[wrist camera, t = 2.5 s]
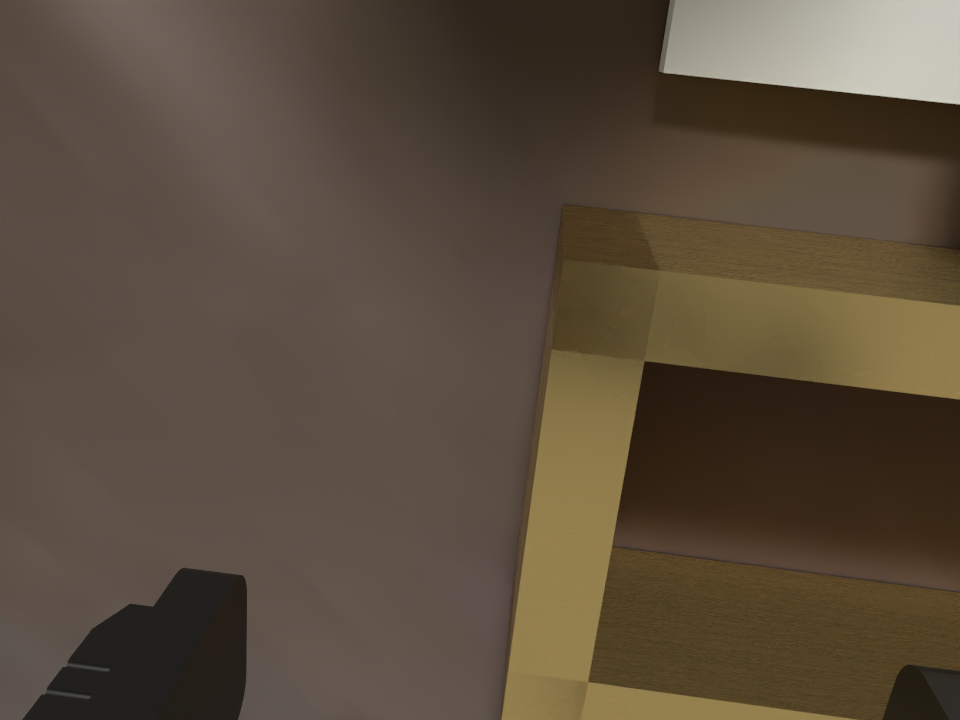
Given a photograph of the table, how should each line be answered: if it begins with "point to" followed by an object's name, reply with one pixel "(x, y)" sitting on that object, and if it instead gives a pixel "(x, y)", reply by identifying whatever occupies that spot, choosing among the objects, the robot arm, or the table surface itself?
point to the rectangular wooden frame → (693, 581)
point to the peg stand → (820, 45)
